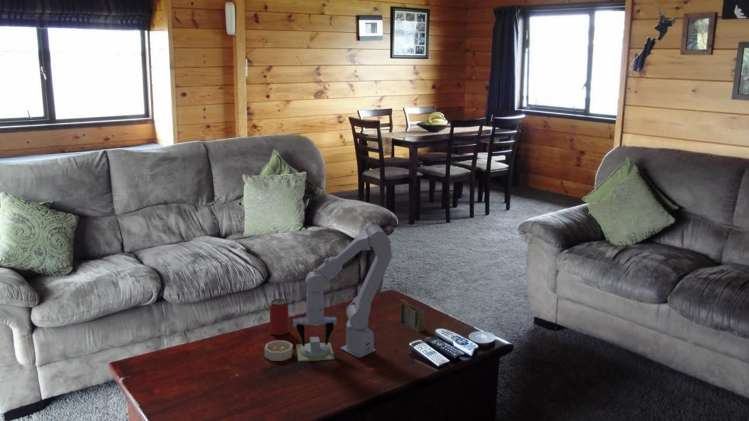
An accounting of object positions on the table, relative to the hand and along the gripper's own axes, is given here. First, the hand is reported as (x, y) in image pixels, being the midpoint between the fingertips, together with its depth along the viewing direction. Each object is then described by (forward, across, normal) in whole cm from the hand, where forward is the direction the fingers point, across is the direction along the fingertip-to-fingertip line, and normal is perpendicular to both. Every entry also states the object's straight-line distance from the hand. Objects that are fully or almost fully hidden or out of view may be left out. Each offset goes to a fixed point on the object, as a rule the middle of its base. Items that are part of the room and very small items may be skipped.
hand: (314, 344), depth 230 cm
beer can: (+3, -11, +18) cm, 21 cm away
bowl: (+3, -12, 0) cm, 13 cm away
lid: (+2, 0, 0) cm, 3 cm away
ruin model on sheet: (+4, +38, +17) cm, 42 cm away
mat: (+3, 0, 0) cm, 3 cm away
